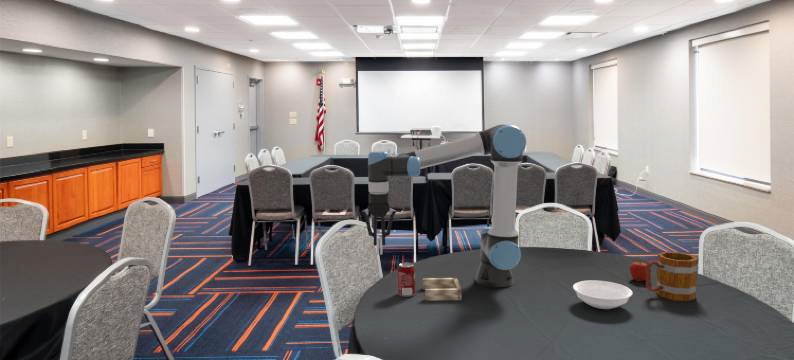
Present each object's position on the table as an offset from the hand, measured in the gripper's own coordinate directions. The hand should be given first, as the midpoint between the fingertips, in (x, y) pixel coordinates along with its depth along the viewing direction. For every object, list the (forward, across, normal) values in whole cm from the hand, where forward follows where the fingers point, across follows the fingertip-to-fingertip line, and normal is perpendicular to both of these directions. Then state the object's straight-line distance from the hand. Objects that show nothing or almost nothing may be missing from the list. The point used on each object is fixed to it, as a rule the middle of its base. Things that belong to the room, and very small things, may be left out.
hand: (379, 253), depth 195 cm
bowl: (+17, -80, +15) cm, 83 cm away
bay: (+16, -23, 0) cm, 28 cm away
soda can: (+17, -10, 0) cm, 19 cm away
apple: (+17, -107, -12) cm, 109 cm away
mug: (+17, -109, +6) cm, 110 cm away
